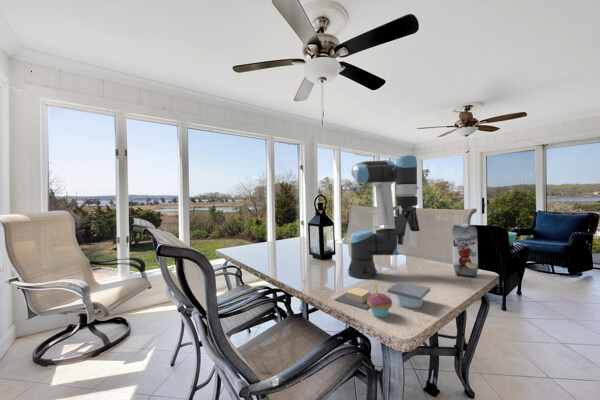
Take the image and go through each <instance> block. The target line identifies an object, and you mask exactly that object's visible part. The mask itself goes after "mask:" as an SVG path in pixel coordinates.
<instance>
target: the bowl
mask: <svg viewBox="0 0 600 400" xmlns="http://www.w3.org/2000/svg"><path fill="white" fill-rule="evenodd" d="M423 299H424V297H423V298H422V299H421V300H417V299H412V298H408V297H404V296H400V295H396V294H395V300H396V303H397V304H398V305H399V306H401V307H404V308H408V309H419V308H421V307H422V306H423V303H424V300H423Z"/></svg>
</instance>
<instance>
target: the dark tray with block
mask: <svg viewBox="0 0 600 400" xmlns="http://www.w3.org/2000/svg"><path fill="white" fill-rule="evenodd" d="M369 295H372V294H371V290H367V289H363V288H359V287H353V288H351V289H349V290H348V291H346V292H345V293H343V294H342V295H340V296H338V297H336V298H335V299H334V301H336V302H339V303H342V304H346V305H349V306H353V307H354V308H355V307H356V308H358V309H362V310H364V311H366V310H368V309H371V307H370V306H369V305H368V304H367V298H368V297H369Z"/></svg>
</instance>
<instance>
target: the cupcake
mask: <svg viewBox="0 0 600 400" xmlns="http://www.w3.org/2000/svg"><path fill="white" fill-rule="evenodd" d="M374 290H375V293H372V294H371V295H369V297H368V298H367V304H368V305H369V306H370V310H371V312H372V315H373V316H374V317H375V318H376V317H377V318H385V317H387V316H388V313H389V310H390V309H391V308H393V307H392V306H393V302H392V301H393V300H392V299H391V298H390V296H388V295H386V294H384V293H382V292H381V293H380V292H378V285H377V283H376V282H374Z"/></svg>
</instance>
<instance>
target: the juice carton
mask: <svg viewBox="0 0 600 400" xmlns="http://www.w3.org/2000/svg"><path fill="white" fill-rule="evenodd" d="M478 245H479V244H478V229H477V227H476V226H474V225H469V223H465V222H464V223H461V225H458V224H454V225H453V226H452V264H453V265H452V266H453V270H454V273H455V275H456V276H457V277H458V276H459V277H468V278H477V275H478V271H479V258H478V257H479V254H478V249H479V248H478V247H479V246H478Z"/></svg>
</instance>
